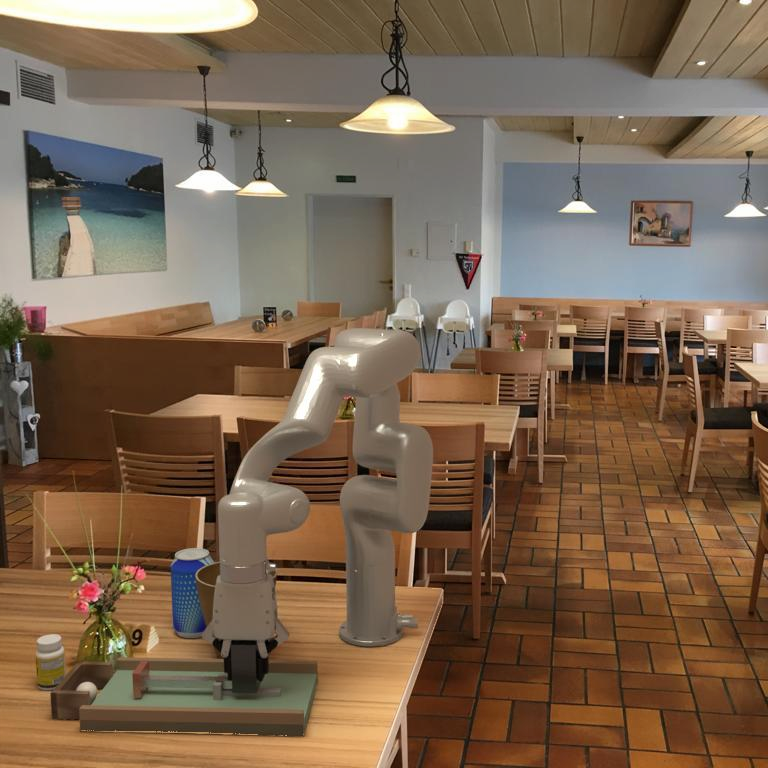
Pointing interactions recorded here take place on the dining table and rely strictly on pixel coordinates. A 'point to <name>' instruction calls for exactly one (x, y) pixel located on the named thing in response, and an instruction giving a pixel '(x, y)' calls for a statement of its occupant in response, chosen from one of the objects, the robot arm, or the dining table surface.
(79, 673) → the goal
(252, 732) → the pitch
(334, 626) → the dining table surface
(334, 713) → the dining table surface
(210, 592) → the plant pot
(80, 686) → the ball
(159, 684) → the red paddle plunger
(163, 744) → the dining table surface
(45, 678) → the supplement bottle
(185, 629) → the beer can
